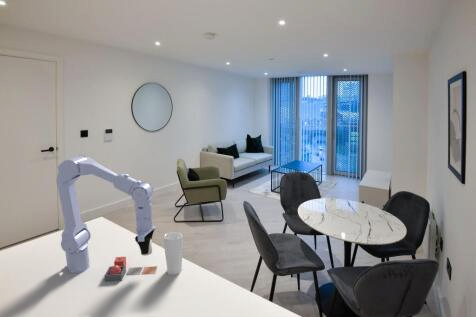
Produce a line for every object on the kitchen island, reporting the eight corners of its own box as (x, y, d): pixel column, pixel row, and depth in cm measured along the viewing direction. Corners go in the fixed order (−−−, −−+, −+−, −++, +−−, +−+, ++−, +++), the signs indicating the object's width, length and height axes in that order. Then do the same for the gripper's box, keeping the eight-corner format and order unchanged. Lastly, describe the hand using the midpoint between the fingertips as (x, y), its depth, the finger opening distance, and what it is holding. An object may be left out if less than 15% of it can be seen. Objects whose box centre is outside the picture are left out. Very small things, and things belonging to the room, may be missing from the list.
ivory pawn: (139, 252, 112) (138, 239, 111) (149, 249, 114) (149, 237, 113) (143, 256, 109) (142, 243, 108) (153, 253, 111) (153, 240, 110)
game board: (104, 284, 106) (104, 281, 106) (114, 265, 117) (114, 263, 117) (153, 281, 107) (153, 279, 107) (158, 263, 119) (158, 261, 119)
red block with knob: (114, 269, 113) (113, 260, 112) (117, 265, 117) (116, 256, 116) (124, 269, 114) (123, 260, 113) (126, 264, 117) (125, 255, 116)
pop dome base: (104, 281, 106) (104, 275, 105) (110, 272, 112) (109, 266, 111) (121, 280, 106) (121, 274, 106) (126, 271, 112) (125, 265, 112)
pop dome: (108, 277, 107) (107, 269, 106) (111, 271, 110) (111, 263, 110) (119, 277, 107) (118, 268, 106) (122, 271, 111) (121, 262, 110)
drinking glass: (165, 279, 109) (164, 240, 106) (165, 269, 115) (163, 232, 112) (184, 276, 111) (183, 238, 108) (182, 266, 117) (181, 230, 114)
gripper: (151, 223, 102) (153, 260, 105) (158, 208, 116) (160, 241, 119) (130, 224, 101) (133, 261, 104) (139, 209, 115) (142, 242, 118)
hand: (146, 250), depth 111 cm, fingers closed on ivory pawn, 4 cm apart
